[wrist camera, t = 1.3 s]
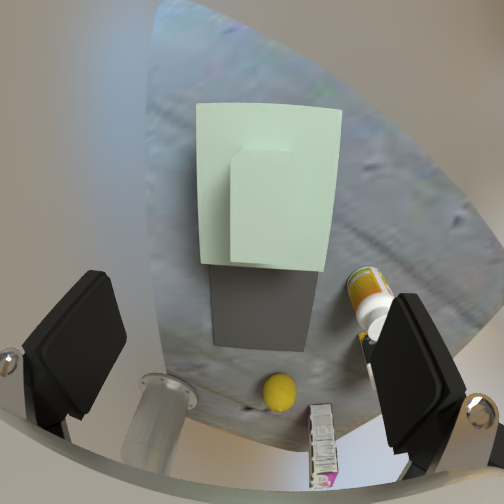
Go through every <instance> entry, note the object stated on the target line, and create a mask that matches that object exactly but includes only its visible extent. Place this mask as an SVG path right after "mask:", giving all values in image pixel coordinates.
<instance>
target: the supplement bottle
mask: <svg viewBox="0 0 504 504" xmlns="http://www.w3.org/2000/svg"><path fill="white" fill-rule="evenodd" d="M347 290H348V294H349V297H350V300H351V302H352V306H353V309H354V312H355V315H356V318H357V321H358V323H359V325H360V326H361V327H362V328H364V329H365V330H366V331H367V334H368V336H369V337H370V338H371V339H372V340H374V341H377V340H378V337H379V335H380V332H381V330H382V327H383V325H384V322H385V319H386V317H387V314H388V311H389V309H390V306H391V303H392V300H393V299H394V298H395V297H394V295H393V293H392V291H391V289H390V287H389V285H388V284H387V282H386V280H385V278H384V276H383V275H382V273H381V272H380V271H379V270H378V269H377V268H374V267H369V266H368V267H362V268H359V269H358V270H356V271H355V272H353V273H352V274H351V276H350V277H349V279H348V282H347Z"/></svg>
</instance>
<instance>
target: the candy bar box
mask: <svg viewBox="0 0 504 504" xmlns="http://www.w3.org/2000/svg"><path fill="white" fill-rule="evenodd" d="M307 429H308V449H309V484H310V485H309V489H317V488H329V487H332V486H333V483H334V481H335V478H336V476H337V474H338V461H337V449H336V441H335V431H334V422H333V414H332V405H331V403H327V404H318V405H309V413H308V428H307Z"/></svg>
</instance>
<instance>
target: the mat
mask: <svg viewBox="0 0 504 504" xmlns="http://www.w3.org/2000/svg"><path fill="white" fill-rule="evenodd" d="M318 272H319V271H304V270H288V269H272V268H257V267H242V266H228V265H214V264H210V283H211V300H212V315H213V329H214V342H215V345H216V346H226V347H236V348H248V349H261V350H276V351H296V352H303V351H304V346H305V342H306V337H307V332H308V327H309V322H310V317H311V311H312V306H313V301H314V295H315V289H316V284H317V278H318Z"/></svg>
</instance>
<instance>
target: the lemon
mask: <svg viewBox="0 0 504 504" xmlns="http://www.w3.org/2000/svg"><path fill="white" fill-rule="evenodd" d="M296 392H297V389H296V385H295V382H294V380H293V379H292V378H291V377H290V376H288V375H286V374H281V373H280V374H275V375H273V376H271V377H270V378H268V380H267V381H266V383H265V385H264V389H263V397H264V401H265V403H266V405H267V406H268V407H269V408H270V409H271V410H274V411H277V412H281V411H285V410H287V409H289V408H290V407H291V406H292V405H293V403H294V402H295V399H296Z"/></svg>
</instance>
